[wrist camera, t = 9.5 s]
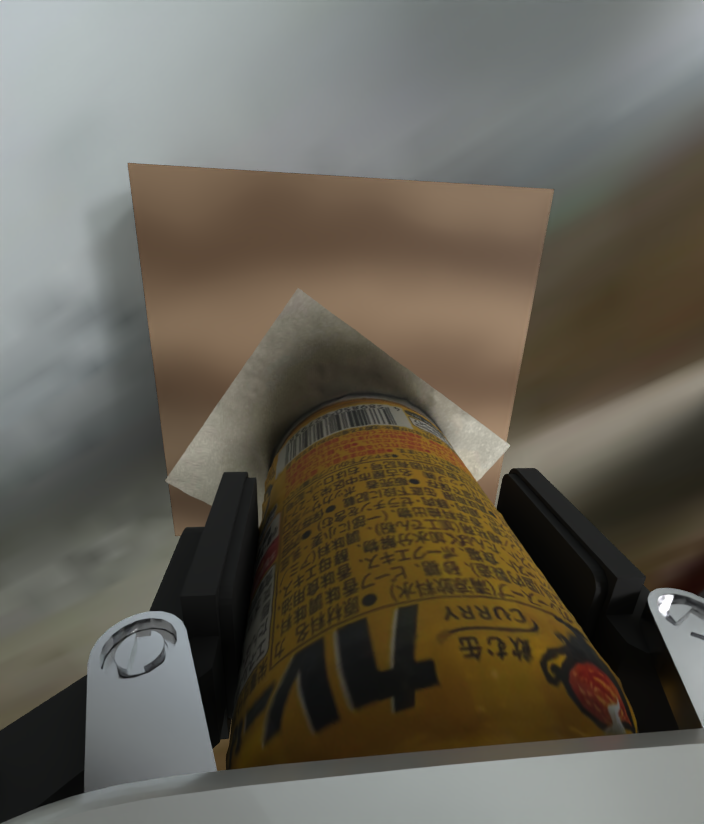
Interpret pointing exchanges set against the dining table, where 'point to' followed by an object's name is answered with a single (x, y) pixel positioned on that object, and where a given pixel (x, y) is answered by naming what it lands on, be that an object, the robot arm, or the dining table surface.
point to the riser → (333, 283)
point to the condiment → (383, 566)
